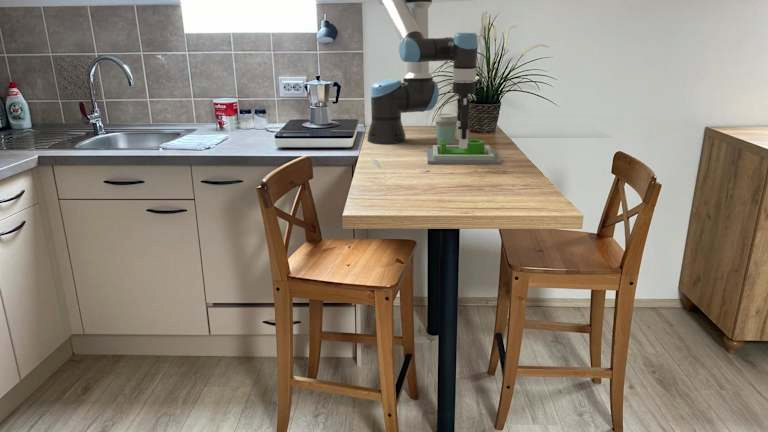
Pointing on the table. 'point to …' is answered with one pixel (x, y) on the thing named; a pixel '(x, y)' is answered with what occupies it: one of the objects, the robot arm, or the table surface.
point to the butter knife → (376, 163)
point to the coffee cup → (446, 128)
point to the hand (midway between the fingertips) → (461, 143)
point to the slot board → (461, 156)
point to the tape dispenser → (472, 148)
